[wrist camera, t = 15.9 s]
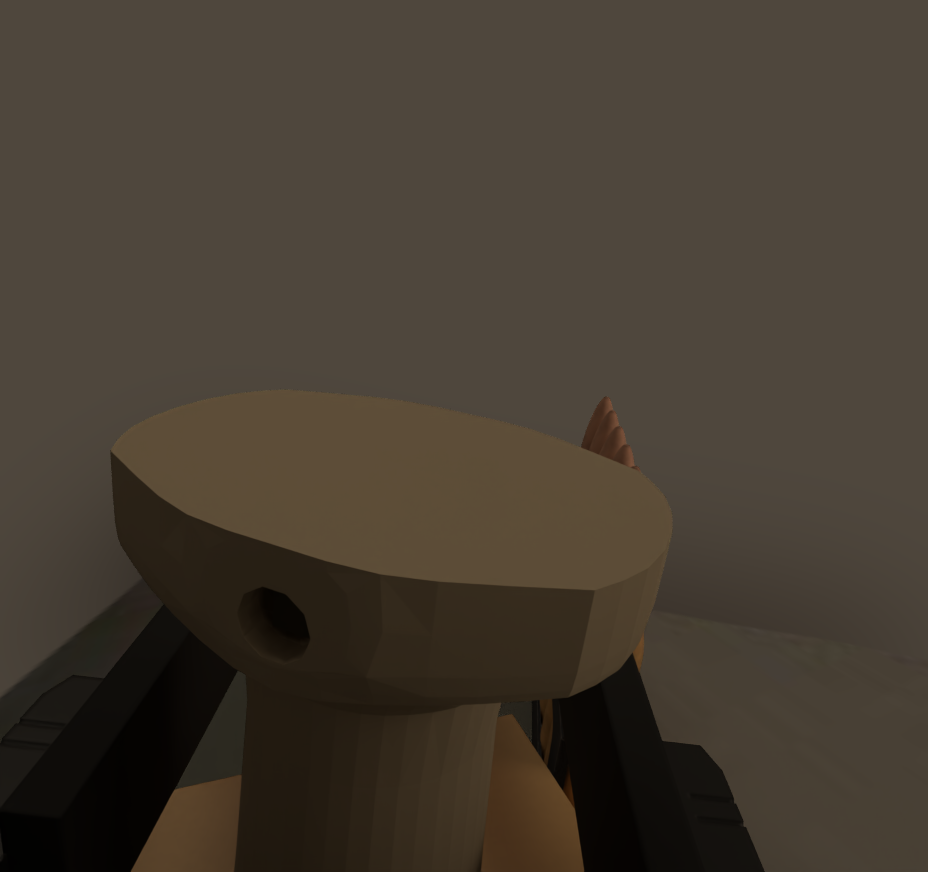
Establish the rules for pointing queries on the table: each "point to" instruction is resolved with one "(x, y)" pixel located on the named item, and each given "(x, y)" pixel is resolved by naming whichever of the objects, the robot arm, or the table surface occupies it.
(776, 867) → the table surface
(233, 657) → the handle
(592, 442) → the ammunition clip
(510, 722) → the rack
